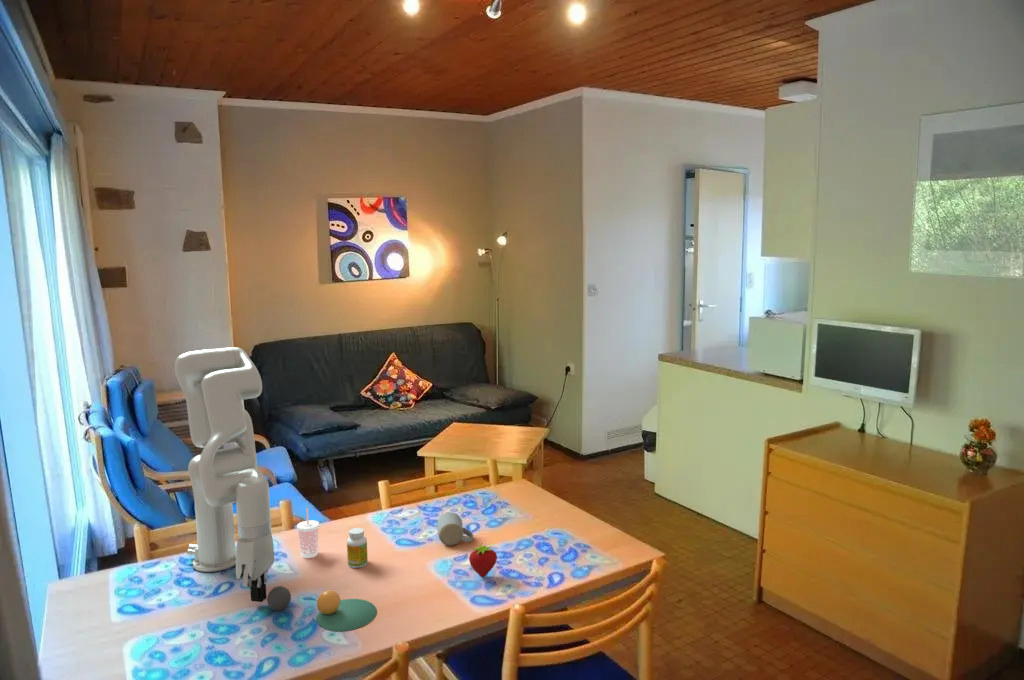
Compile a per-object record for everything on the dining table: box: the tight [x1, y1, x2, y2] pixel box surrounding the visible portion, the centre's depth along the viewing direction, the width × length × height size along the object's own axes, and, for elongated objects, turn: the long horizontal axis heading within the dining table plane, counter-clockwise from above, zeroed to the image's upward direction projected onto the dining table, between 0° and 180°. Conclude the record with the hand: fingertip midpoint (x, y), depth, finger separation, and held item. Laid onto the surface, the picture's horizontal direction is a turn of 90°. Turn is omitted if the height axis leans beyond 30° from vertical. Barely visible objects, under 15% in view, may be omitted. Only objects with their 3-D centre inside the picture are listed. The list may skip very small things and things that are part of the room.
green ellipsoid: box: [316, 598, 378, 632], centre depth 163 cm, size 14×14×1 cm
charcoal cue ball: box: [266, 585, 292, 611], centre depth 165 cm, size 6×6×6 cm
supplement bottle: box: [346, 527, 368, 569], centre depth 188 cm, size 5×5×10 cm
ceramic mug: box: [436, 511, 474, 547], centre depth 203 cm, size 11×8×8 cm
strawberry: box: [468, 542, 498, 578], centre depth 181 cm, size 6×8×10 cm
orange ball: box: [316, 589, 341, 615], centre depth 163 cm, size 6×6×6 cm
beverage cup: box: [296, 507, 320, 559], centre depth 194 cm, size 6×6×14 cm
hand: (258, 599), depth 167 cm, fingers closed
